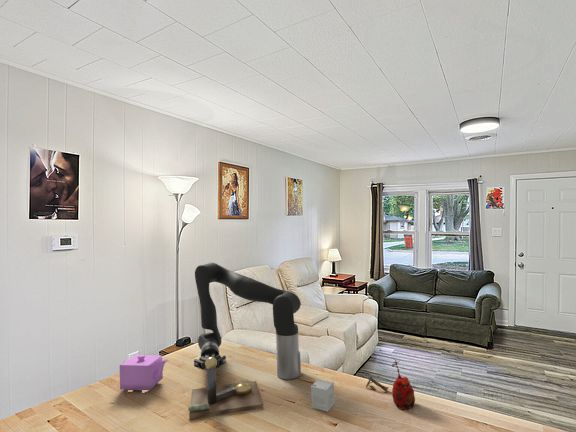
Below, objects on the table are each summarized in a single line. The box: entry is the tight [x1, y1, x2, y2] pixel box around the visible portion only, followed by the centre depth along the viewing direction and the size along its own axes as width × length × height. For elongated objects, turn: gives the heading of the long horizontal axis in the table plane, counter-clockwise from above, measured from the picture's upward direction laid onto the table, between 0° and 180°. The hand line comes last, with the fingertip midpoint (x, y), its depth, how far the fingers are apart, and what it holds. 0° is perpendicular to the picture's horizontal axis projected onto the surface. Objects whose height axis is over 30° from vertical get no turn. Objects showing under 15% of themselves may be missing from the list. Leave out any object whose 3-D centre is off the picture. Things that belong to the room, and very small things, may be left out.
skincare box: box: [310, 379, 336, 413], centre depth 118 cm, size 6×6×7 cm
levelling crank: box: [205, 357, 252, 405], centre depth 123 cm, size 18×7×15 cm, turn 129°
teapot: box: [119, 354, 170, 391], centre depth 135 cm, size 20×10×12 cm, turn 82°
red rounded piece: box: [391, 358, 416, 411], centre depth 116 cm, size 8×7×15 cm
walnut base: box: [188, 380, 264, 420], centre depth 123 cm, size 24×18×3 cm
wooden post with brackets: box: [365, 375, 389, 393], centre depth 127 cm, size 2×8×4 cm, turn 62°
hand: (210, 370), depth 128 cm, fingers closed
